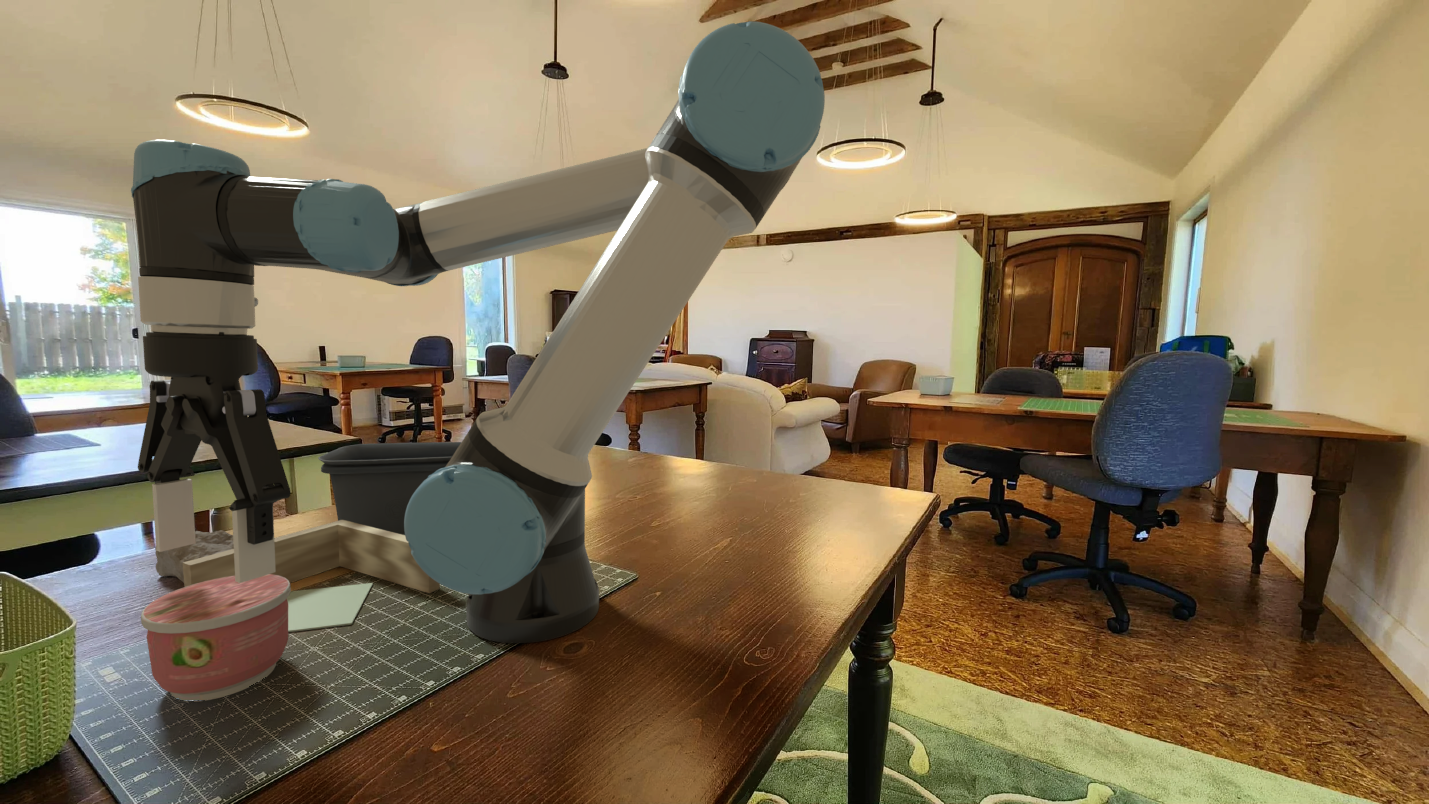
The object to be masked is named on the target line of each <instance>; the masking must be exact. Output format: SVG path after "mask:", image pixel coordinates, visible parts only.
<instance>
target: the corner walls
mask: <svg viewBox="0 0 1429 804" xmlns="http://www.w3.org/2000/svg"><path fill="white" fill-rule="evenodd" d="M274 544H275V570H276V572H274V573H271V574H272V575H278V576H281V577H284V578H286V579H287V580H289V582H290V584H291V583H295V582H296V581H300V580H303V579H306V578H308V577H312V576H315V575H317V574H320V573H324V572H326V571H329V570H332V569H334V568H335V569H336V568H339V567H341V568H345V569H348V570H351V571H354V572H358V573H361V574H364V575H368V576H371V577H375V578H377V579H381V580H384V581H388V582H390V583H394V584H397V585H401V586H405V587H407V588H410V589H412V590H413V589H414V590H416V591H417V590H418V591H420V592H424V593H426V594H431V593H433V592H435V591H439V590H440V589H441V584H439V583H438V582H436V581H435V580H433V579H432V578H431V577H430V576H428V575H427V574H426V573H425V572H424V571H423V570H422V569H421V568H420V566H419V565H418V564H417V562H416V561H415V559H414V558H413V556H412V554H411V548H410V547H409V543H408V541H407V540H406V537H405V535H401V534H398V533H394V532H390V531H386V530H382V529H378V528H374V527H370V526H366V525H362V524H358V523H354V522H350V521H346V520H339V521H338V520H336V521H332V522H328V523H326V524H325V523H324V524H321V525H316V526H314V527H310V528H306V529H303V530H298V531H296V532H292V533H288V534H284V535H281V536H277V537H274ZM183 574H184V583H183V586H184V587H187V586H190V585H193V584H197V583H200V582H205V581H209V580H213V579H218V578H223V577H229V576H235V564H234V549H231V550H228V551H224V552H220V553H217V554H213V555H209V556H205V557H202V558H198V559H194V560H191V561H187V562H183ZM184 587H183V588H184Z"/></svg>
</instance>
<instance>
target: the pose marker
mask: <svg viewBox="0 0 1429 804" xmlns="http://www.w3.org/2000/svg"><path fill="white" fill-rule="evenodd" d="M373 585H374V583H373V582H370V583H369V582H368V583H359V584H348V585H340V586H329V587H319V588H310V589H301V590H292V591H291V592H290V595H289V596H288V597H287V601H288V633H296V632H301V631H302V632H304V631H310V630H311V631H312V630H319V629H320V630H321V629H327V628H333V627H342V626H351V625H353V623H354V621H355V619H356V617H357V615H358V614H359V612H360V610H361V608H362V606H363V604H364V603H365V600H366V599H367V596H368V595H369V592H370V591H371V590H372V587H373Z"/></svg>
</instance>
